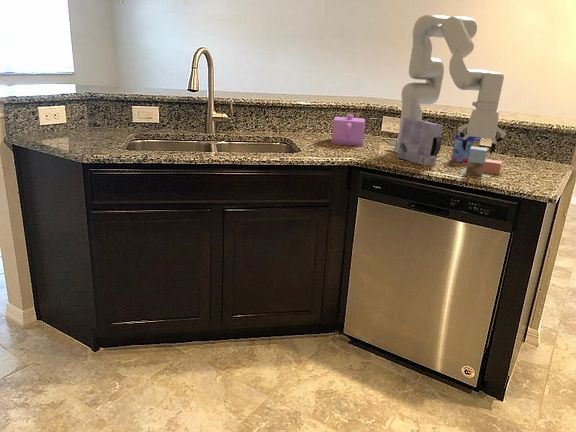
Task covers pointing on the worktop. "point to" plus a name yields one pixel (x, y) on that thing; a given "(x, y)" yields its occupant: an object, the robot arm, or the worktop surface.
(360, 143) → the teapot
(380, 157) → the worktop surface
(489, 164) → the block red
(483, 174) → the baseplate
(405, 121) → the cake pan box
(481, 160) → the block blue
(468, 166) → the block walnut
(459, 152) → the ink cartridge box
